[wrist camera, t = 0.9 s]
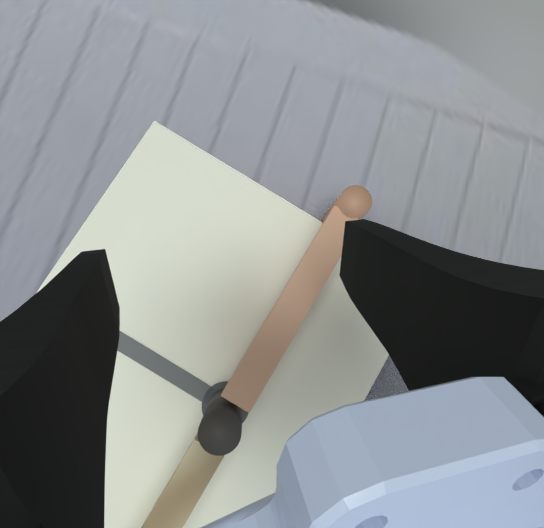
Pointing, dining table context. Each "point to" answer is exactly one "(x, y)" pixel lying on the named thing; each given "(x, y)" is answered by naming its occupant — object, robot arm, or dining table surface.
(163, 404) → the card
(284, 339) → the tan wooden bar
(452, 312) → the robot arm
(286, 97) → the dining table surface
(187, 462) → the hammer
